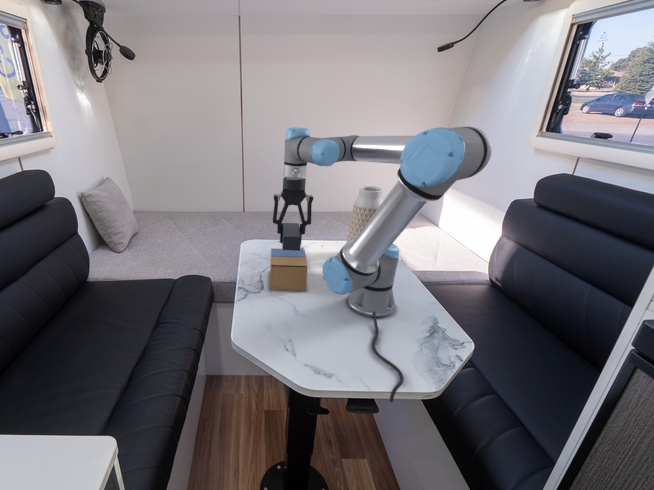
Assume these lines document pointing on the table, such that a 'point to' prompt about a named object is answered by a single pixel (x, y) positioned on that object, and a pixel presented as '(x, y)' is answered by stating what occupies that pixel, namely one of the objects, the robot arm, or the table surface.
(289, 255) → the flap
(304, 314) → the table surface
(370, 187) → the vase
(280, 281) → the carton
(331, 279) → the robot arm
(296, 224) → the case
